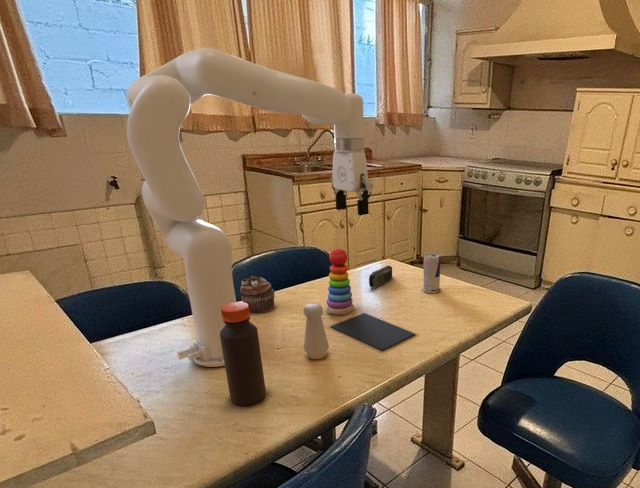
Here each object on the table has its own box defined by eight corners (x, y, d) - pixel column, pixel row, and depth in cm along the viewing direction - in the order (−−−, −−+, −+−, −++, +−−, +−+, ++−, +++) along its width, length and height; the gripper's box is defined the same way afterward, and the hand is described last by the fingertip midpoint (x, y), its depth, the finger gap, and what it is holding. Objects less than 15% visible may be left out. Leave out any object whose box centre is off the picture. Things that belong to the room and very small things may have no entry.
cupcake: (267, 315, 130) (263, 282, 126) (236, 313, 131) (231, 280, 128) (282, 303, 139) (278, 272, 135) (253, 300, 140) (248, 270, 136)
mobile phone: (386, 264, 161) (365, 275, 148) (393, 265, 160) (373, 276, 147) (386, 277, 163) (365, 289, 150) (393, 278, 162) (373, 291, 149)
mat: (382, 351, 111) (382, 349, 111) (330, 327, 123) (330, 325, 123) (415, 335, 120) (415, 333, 119) (363, 314, 132) (363, 312, 132)
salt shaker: (304, 351, 111) (299, 301, 106) (327, 348, 112) (324, 299, 107) (305, 362, 106) (301, 311, 101) (330, 359, 107) (327, 308, 102)
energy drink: (442, 289, 151) (443, 255, 146) (434, 294, 147) (435, 259, 142) (428, 286, 154) (429, 252, 149) (420, 291, 149) (420, 256, 145)
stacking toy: (351, 316, 130) (348, 253, 123) (324, 315, 130) (319, 252, 123) (355, 305, 138) (353, 245, 131) (329, 305, 138) (325, 245, 131)
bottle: (225, 396, 93) (209, 306, 85) (256, 384, 97) (244, 297, 89) (239, 411, 88) (224, 317, 81) (272, 397, 92) (260, 307, 85)
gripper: (318, 144, 121) (322, 209, 127) (358, 148, 109) (360, 218, 116) (341, 143, 126) (344, 206, 132) (382, 147, 114) (383, 215, 121)
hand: (352, 211), depth 124 cm, fingers open, 9 cm apart
